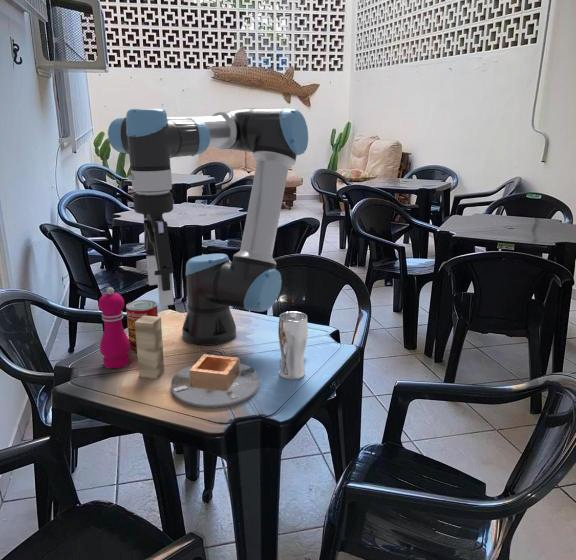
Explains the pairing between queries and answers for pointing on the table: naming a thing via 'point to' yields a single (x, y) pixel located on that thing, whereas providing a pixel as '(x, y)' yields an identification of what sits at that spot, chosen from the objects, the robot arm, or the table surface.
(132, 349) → the canned food
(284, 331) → the beer glass
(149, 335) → the wedge pin
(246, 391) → the rosette plate
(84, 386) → the table surface
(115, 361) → the pepper mill
